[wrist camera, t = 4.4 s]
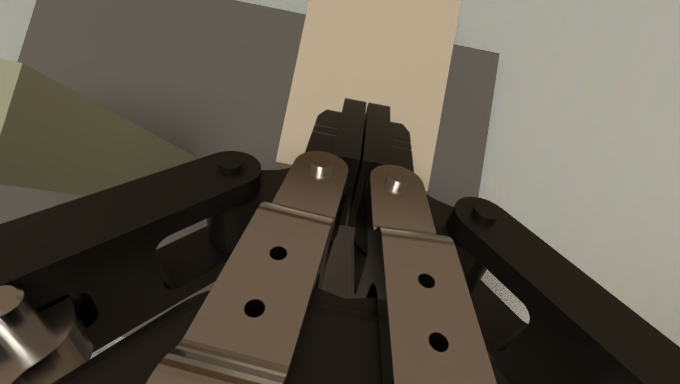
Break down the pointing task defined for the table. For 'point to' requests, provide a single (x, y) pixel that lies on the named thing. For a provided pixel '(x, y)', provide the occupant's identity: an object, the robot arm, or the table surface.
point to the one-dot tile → (70, 138)
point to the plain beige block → (373, 68)
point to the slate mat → (224, 91)
